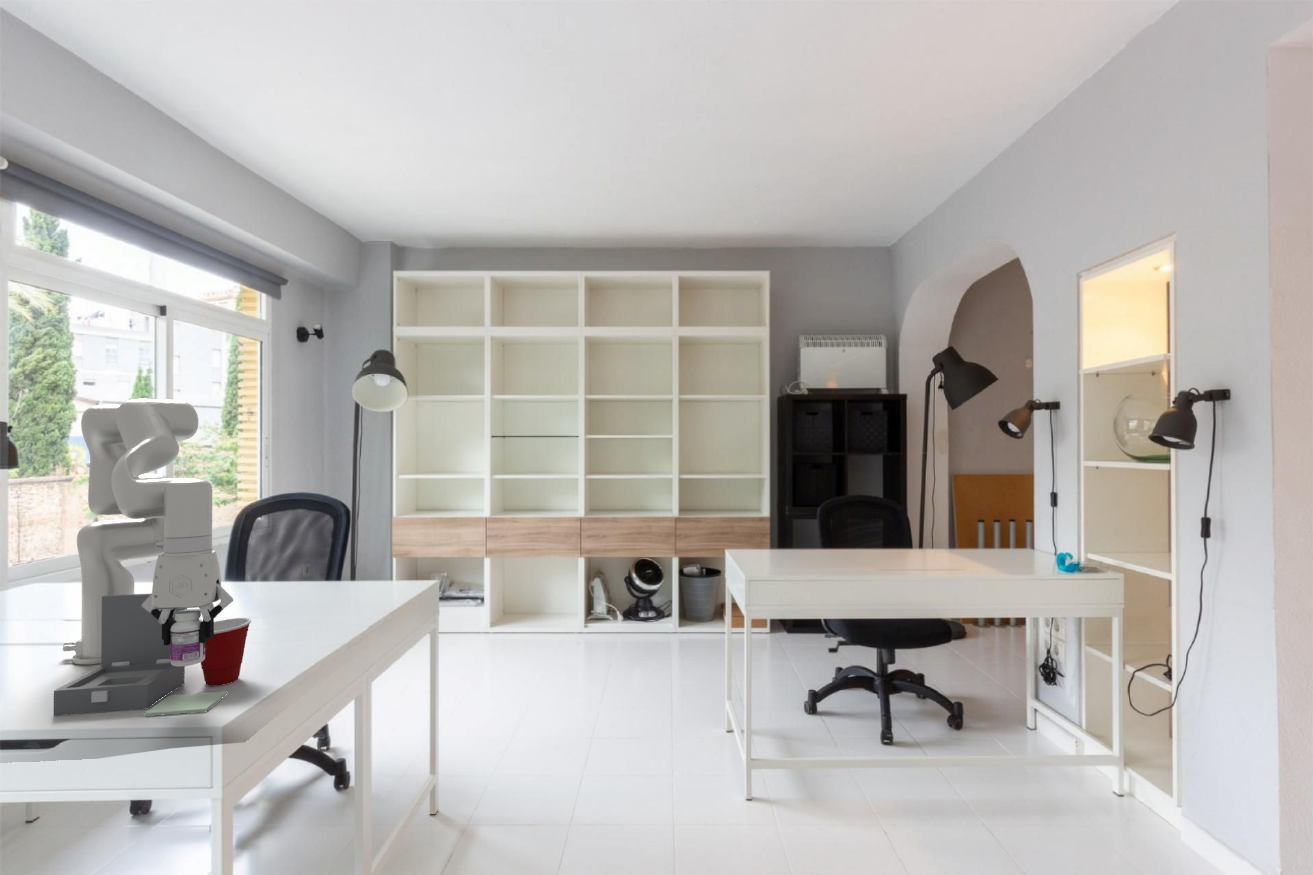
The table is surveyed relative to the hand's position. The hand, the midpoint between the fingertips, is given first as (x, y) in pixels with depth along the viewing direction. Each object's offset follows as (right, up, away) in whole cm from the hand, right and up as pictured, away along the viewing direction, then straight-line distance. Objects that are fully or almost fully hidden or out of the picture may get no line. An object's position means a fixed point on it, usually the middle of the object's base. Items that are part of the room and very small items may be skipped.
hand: (188, 641), depth 127 cm
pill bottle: (0, -4, 0) cm, 4 cm away
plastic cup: (-2, -12, +13) cm, 18 cm away
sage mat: (0, -12, 0) cm, 12 cm away
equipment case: (-15, -12, +3) cm, 20 cm away
